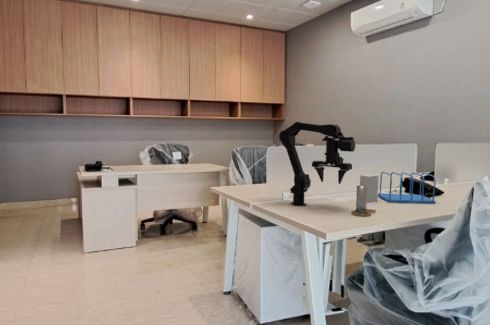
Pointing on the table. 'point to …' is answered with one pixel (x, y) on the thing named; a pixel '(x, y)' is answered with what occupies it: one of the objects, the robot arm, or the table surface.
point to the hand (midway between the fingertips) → (330, 182)
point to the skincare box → (370, 186)
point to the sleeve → (361, 199)
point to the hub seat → (361, 214)
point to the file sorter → (407, 197)
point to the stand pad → (371, 211)
